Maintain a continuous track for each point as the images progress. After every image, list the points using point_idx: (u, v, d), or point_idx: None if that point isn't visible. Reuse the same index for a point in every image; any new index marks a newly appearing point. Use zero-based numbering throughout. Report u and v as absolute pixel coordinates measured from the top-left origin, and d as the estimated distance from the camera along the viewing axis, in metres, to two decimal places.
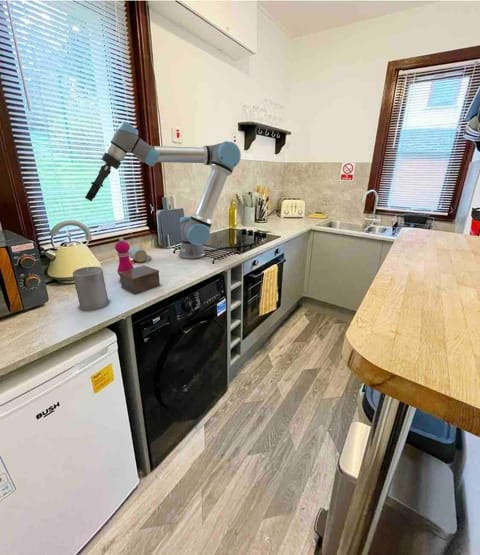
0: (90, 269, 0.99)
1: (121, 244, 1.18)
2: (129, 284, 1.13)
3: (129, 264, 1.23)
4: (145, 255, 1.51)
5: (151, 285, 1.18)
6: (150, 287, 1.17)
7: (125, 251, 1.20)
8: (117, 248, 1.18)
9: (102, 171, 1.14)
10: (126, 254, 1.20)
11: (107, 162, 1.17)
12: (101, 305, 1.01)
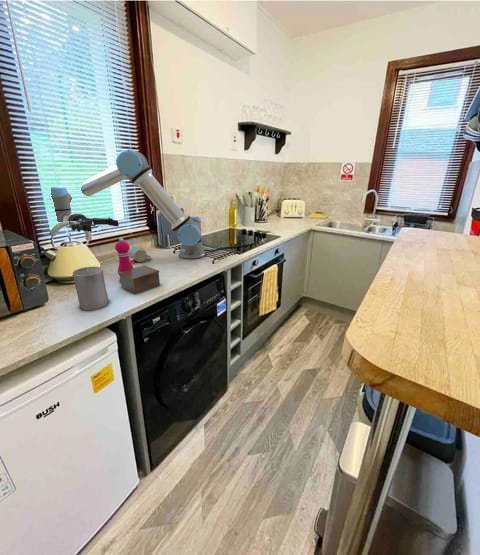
0: (90, 269, 0.99)
1: (121, 244, 1.18)
2: (129, 284, 1.13)
3: (129, 264, 1.23)
4: (145, 255, 1.51)
5: (151, 285, 1.18)
6: (150, 287, 1.17)
7: (125, 251, 1.20)
8: (117, 248, 1.18)
9: (70, 226, 1.22)
10: (126, 254, 1.20)
11: None
12: (101, 305, 1.01)
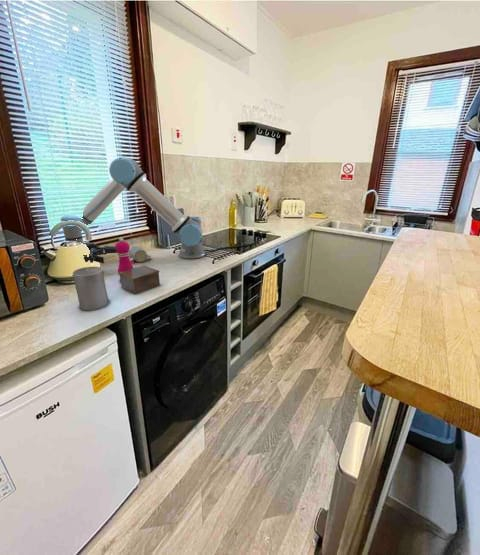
0: (90, 269, 0.99)
1: (121, 244, 1.18)
2: (129, 284, 1.13)
3: (129, 264, 1.23)
4: (145, 255, 1.51)
5: (151, 285, 1.18)
6: (150, 287, 1.17)
7: (125, 251, 1.20)
8: (117, 248, 1.18)
9: None
10: (126, 254, 1.20)
11: None
12: (101, 305, 1.01)
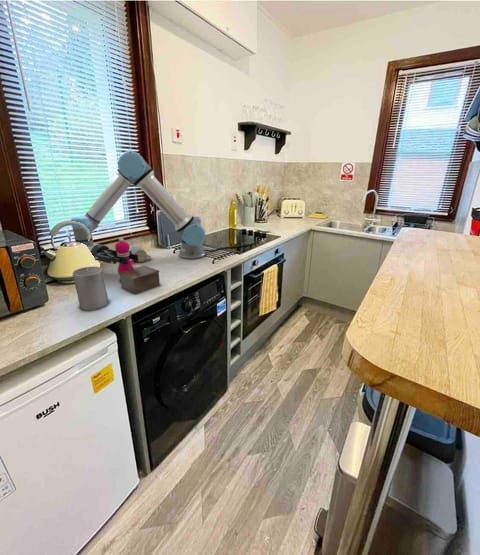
0: (90, 269, 0.99)
1: (121, 244, 1.18)
2: (129, 284, 1.13)
3: (129, 264, 1.23)
4: (145, 255, 1.51)
5: (151, 285, 1.18)
6: (150, 287, 1.17)
7: (125, 251, 1.20)
8: (117, 248, 1.18)
9: (99, 259, 1.21)
10: (126, 254, 1.20)
11: None
12: (101, 305, 1.01)
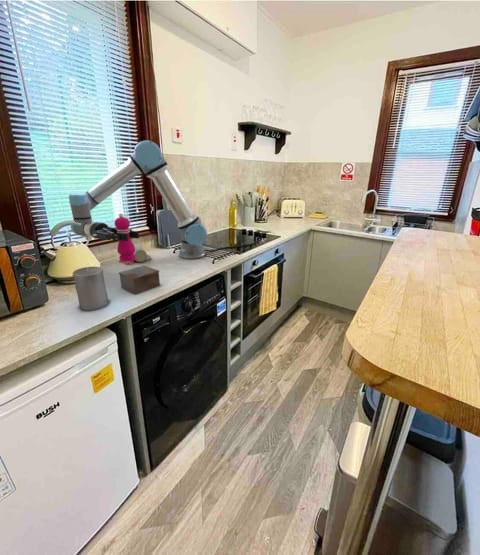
0: (90, 269, 0.99)
1: (121, 220, 1.12)
2: (129, 284, 1.13)
3: (129, 242, 1.17)
4: (145, 255, 1.51)
5: (151, 285, 1.18)
6: (150, 287, 1.17)
7: (125, 227, 1.13)
8: (117, 224, 1.12)
9: (98, 236, 1.15)
10: (126, 231, 1.14)
11: None
12: (101, 305, 1.01)
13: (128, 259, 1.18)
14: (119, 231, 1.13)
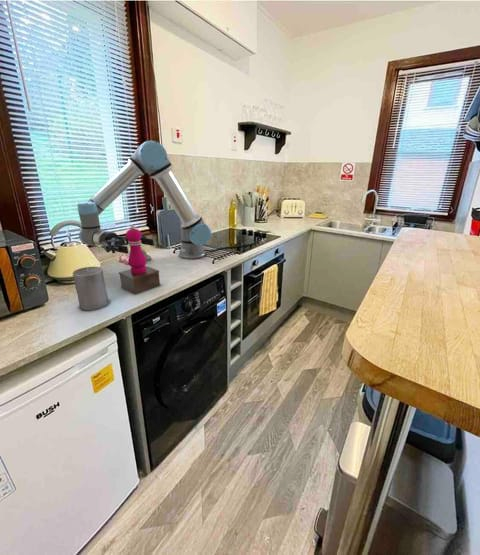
0: (90, 269, 0.99)
1: (132, 232, 1.09)
2: (129, 284, 1.13)
3: (141, 254, 1.14)
4: (145, 255, 1.51)
5: (151, 285, 1.18)
6: (150, 287, 1.17)
7: (137, 239, 1.11)
8: (128, 236, 1.09)
9: (103, 247, 1.12)
10: (138, 243, 1.11)
11: None
12: (101, 305, 1.01)
13: (139, 271, 1.15)
14: (131, 243, 1.11)
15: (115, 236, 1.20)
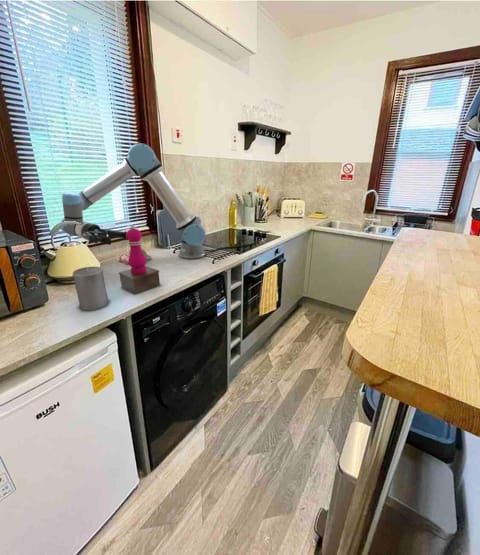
0: (90, 269, 0.99)
1: (132, 232, 1.09)
2: (129, 284, 1.13)
3: (141, 254, 1.14)
4: (145, 255, 1.51)
5: (151, 285, 1.18)
6: (150, 287, 1.17)
7: (137, 239, 1.11)
8: (128, 236, 1.09)
9: (86, 236, 1.17)
10: (138, 243, 1.11)
11: None
12: (101, 305, 1.01)
13: (139, 271, 1.15)
14: (131, 243, 1.11)
15: (98, 228, 1.26)
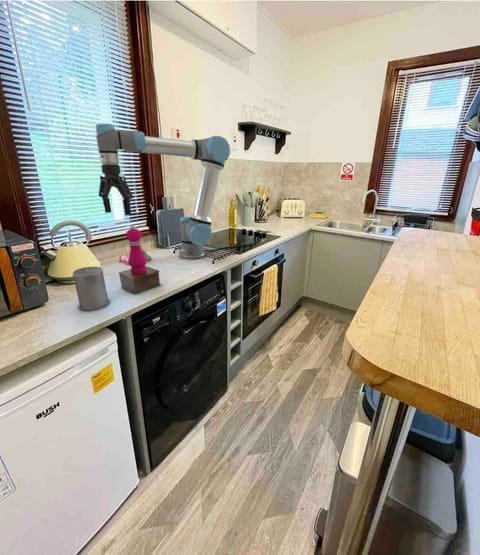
0: (90, 269, 0.99)
1: (132, 232, 1.09)
2: (129, 284, 1.13)
3: (141, 254, 1.14)
4: (145, 255, 1.51)
5: (151, 285, 1.18)
6: (150, 287, 1.17)
7: (137, 239, 1.11)
8: (128, 236, 1.09)
9: (123, 183, 1.18)
10: (138, 243, 1.11)
11: (115, 172, 1.18)
12: (101, 305, 1.01)
13: (139, 271, 1.15)
14: (131, 243, 1.11)
15: None
